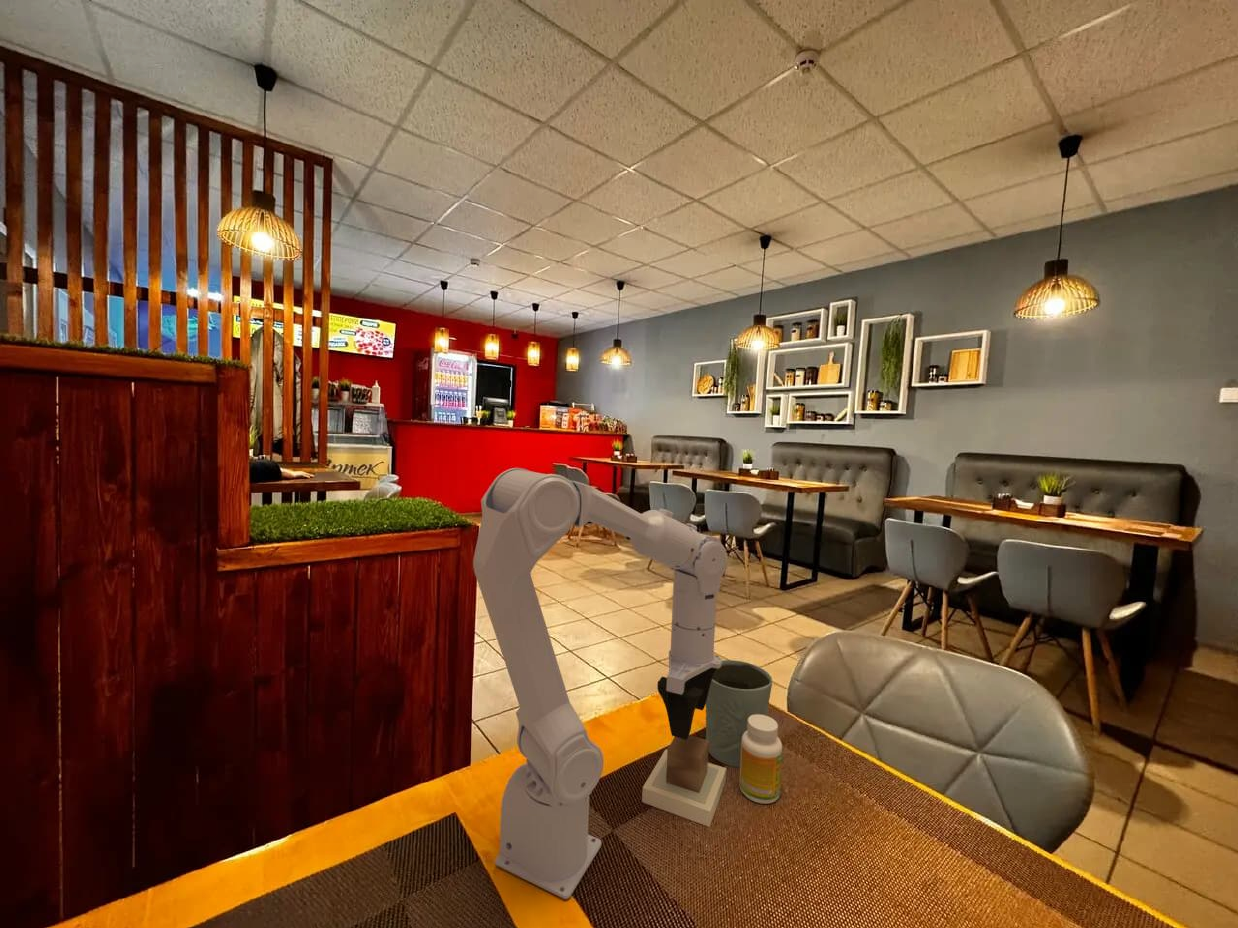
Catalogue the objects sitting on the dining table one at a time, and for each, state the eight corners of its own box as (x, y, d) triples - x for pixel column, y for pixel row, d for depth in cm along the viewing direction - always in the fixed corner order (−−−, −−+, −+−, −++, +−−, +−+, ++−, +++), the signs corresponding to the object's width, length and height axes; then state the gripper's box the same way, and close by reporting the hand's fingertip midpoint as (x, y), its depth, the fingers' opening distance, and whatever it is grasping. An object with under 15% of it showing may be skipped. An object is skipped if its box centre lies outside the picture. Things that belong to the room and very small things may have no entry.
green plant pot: (694, 758, 74) (698, 680, 73) (708, 723, 83) (712, 654, 83) (764, 778, 70) (769, 696, 70) (771, 739, 80) (775, 666, 79)
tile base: (642, 801, 65) (642, 786, 65) (664, 762, 73) (665, 748, 73) (709, 826, 61) (710, 810, 61) (725, 781, 69) (726, 767, 69)
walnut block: (666, 782, 66) (667, 749, 65) (675, 762, 70) (677, 731, 69) (699, 793, 64) (700, 759, 63) (707, 772, 68) (708, 740, 68)
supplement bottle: (782, 808, 64) (786, 736, 64) (739, 801, 66) (743, 730, 65) (777, 780, 70) (781, 714, 69) (738, 774, 71) (741, 708, 70)
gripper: (709, 648, 57) (703, 761, 58) (734, 611, 71) (729, 703, 71) (652, 636, 60) (647, 743, 61) (687, 602, 73) (683, 691, 74)
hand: (688, 721), depth 66 cm, fingers open, 7 cm apart
